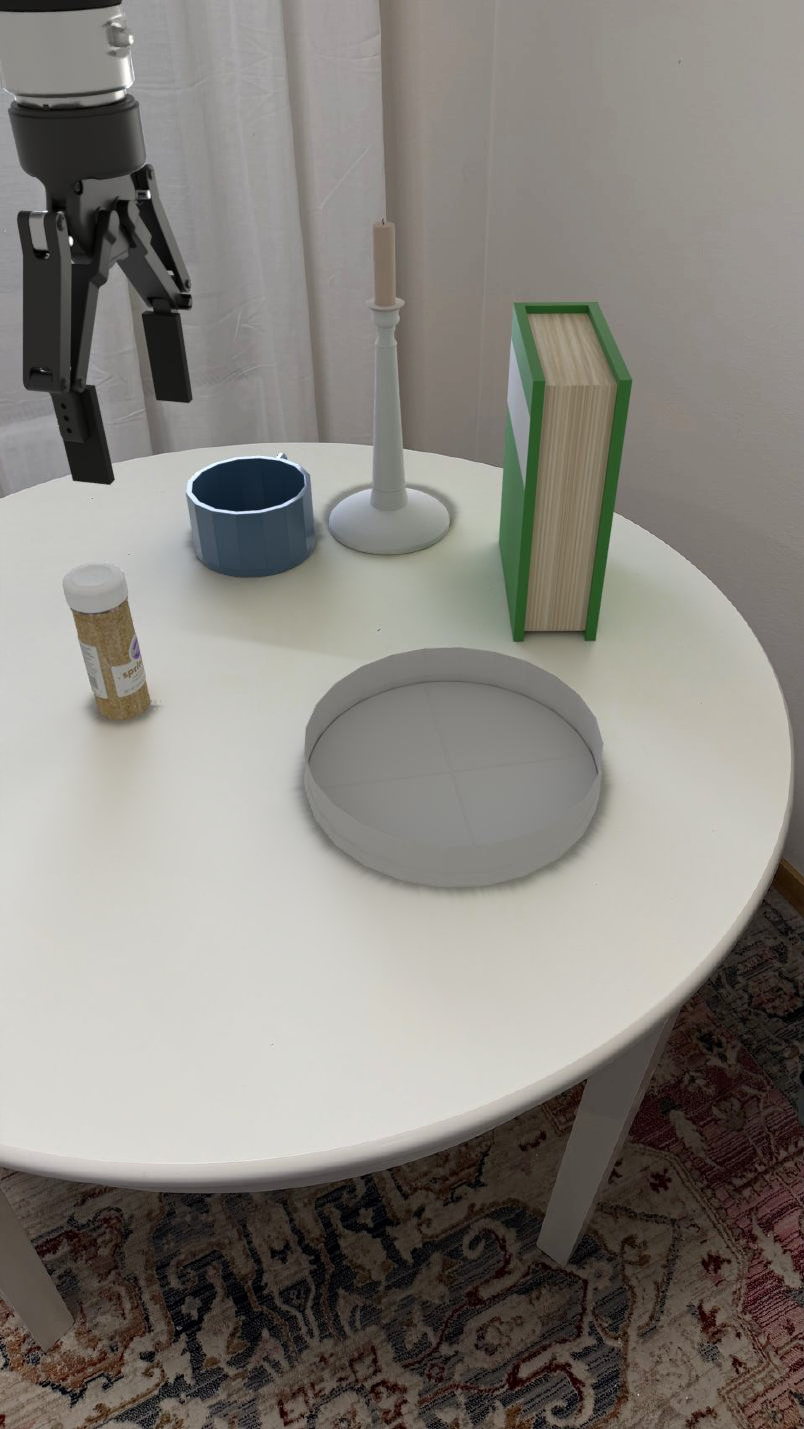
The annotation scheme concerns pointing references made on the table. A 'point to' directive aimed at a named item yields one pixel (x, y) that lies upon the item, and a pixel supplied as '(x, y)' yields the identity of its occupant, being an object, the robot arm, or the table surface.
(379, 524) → the candlestick
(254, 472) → the blue pot
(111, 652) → the sprinkles bottle
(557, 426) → the hardback book
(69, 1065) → the table surface
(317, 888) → the table surface
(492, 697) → the dish
